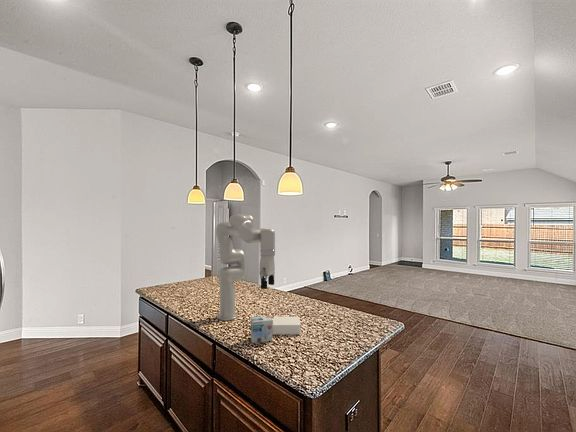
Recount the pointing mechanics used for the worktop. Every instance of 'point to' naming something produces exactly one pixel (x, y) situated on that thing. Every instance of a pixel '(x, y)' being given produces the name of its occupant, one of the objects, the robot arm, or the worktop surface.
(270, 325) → the light bulb box
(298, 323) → the plinth
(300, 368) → the worktop surface
